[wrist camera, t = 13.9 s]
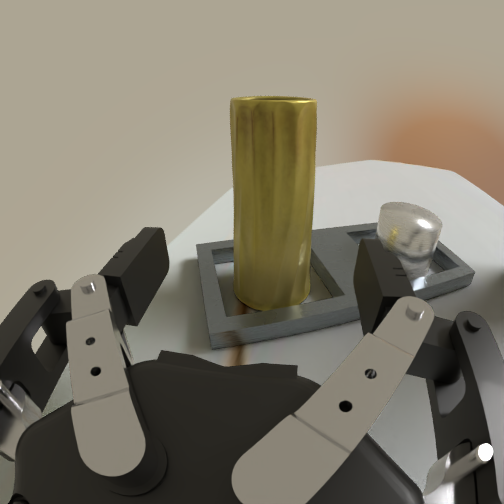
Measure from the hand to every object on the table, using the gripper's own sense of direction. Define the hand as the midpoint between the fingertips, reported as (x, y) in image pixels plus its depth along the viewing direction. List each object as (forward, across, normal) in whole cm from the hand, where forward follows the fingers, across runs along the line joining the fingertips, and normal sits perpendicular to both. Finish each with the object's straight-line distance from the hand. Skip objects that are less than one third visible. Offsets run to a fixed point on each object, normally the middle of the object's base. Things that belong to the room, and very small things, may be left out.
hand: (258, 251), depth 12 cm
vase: (+9, 0, +9) cm, 13 cm away
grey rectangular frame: (+11, -6, +9) cm, 15 cm away
